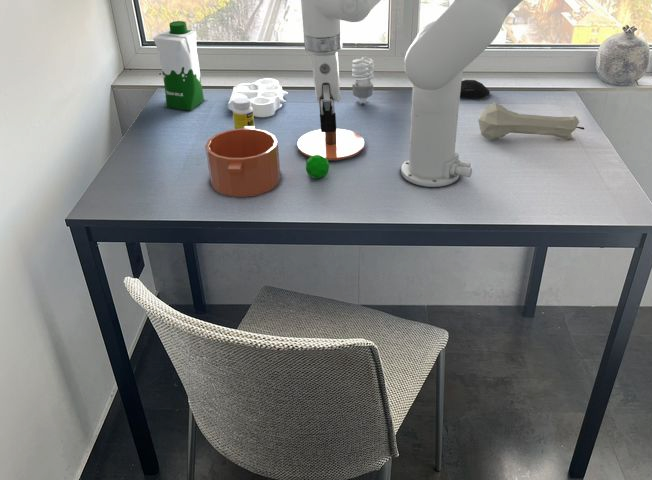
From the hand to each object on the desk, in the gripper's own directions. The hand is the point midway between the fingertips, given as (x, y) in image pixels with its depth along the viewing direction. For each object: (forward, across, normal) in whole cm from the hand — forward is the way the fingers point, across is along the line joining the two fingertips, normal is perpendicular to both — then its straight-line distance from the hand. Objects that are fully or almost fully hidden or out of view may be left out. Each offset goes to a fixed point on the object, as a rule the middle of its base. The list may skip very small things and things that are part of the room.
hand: (328, 122), depth 146 cm
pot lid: (+8, +6, 0) cm, 11 cm away
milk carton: (+8, +34, +36) cm, 51 cm away
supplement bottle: (+8, +15, +20) cm, 26 cm away
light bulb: (+9, +32, -10) cm, 34 cm away
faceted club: (+11, +7, -47) cm, 49 cm away
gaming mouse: (+10, +36, -36) cm, 52 cm away
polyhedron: (+9, -7, +3) cm, 12 cm away
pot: (+9, -8, +18) cm, 22 cm away
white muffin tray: (+8, +33, +17) cm, 38 cm away
